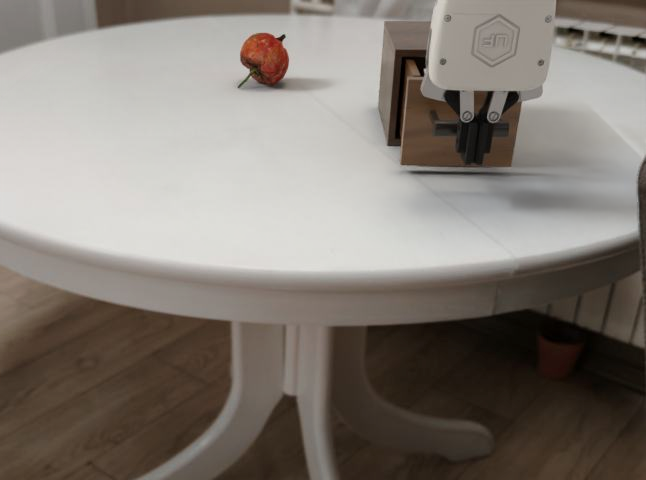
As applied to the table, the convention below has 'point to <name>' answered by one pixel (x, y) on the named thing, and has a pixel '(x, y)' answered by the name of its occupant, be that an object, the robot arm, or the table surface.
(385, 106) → the cabinet
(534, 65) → the robot arm
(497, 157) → the drawer
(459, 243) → the table surface
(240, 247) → the table surface
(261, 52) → the pomegranate
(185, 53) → the table surface
